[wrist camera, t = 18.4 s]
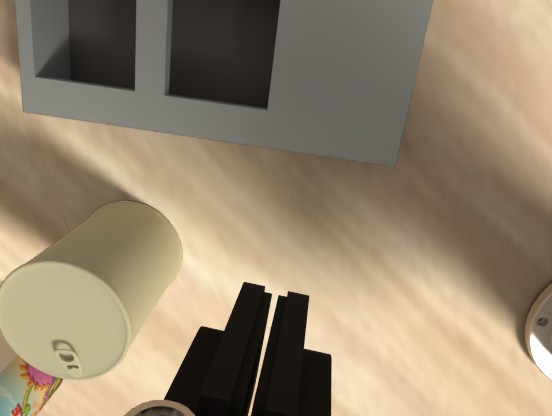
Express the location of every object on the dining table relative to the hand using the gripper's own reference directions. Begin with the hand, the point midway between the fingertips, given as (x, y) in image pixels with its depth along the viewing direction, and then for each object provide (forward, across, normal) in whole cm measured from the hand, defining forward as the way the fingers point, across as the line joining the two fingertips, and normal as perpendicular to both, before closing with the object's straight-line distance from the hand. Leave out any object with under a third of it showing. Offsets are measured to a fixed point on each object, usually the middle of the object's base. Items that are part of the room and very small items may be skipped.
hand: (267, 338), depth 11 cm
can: (+25, +14, +12) cm, 31 cm away
